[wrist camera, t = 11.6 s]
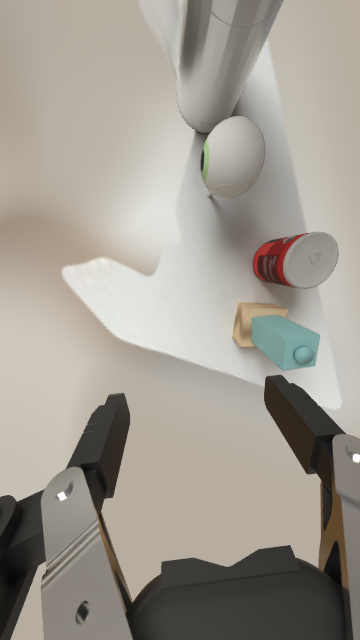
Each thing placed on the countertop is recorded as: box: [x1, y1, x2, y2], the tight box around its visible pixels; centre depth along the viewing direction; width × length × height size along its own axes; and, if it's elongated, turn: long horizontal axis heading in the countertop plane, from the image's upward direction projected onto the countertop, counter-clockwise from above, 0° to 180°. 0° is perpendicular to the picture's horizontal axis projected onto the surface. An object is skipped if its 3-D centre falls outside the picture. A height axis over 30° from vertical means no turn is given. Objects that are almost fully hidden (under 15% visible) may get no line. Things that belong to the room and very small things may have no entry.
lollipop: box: [201, 116, 265, 198], centre depth 25 cm, size 7×7×15 cm
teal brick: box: [251, 314, 320, 370], centre depth 31 cm, size 5×5×11 cm
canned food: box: [253, 232, 339, 289], centre depth 31 cm, size 8×8×11 cm
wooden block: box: [232, 302, 288, 347], centre depth 38 cm, size 8×8×5 cm
